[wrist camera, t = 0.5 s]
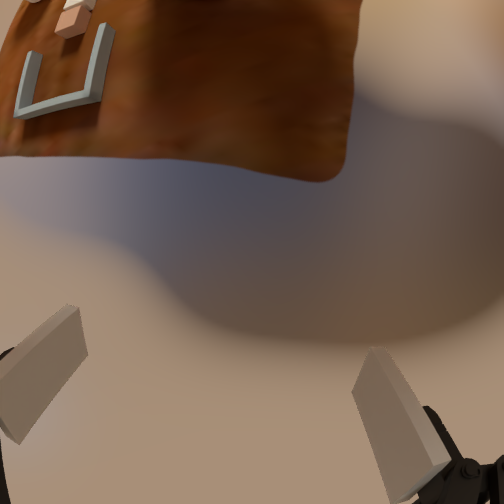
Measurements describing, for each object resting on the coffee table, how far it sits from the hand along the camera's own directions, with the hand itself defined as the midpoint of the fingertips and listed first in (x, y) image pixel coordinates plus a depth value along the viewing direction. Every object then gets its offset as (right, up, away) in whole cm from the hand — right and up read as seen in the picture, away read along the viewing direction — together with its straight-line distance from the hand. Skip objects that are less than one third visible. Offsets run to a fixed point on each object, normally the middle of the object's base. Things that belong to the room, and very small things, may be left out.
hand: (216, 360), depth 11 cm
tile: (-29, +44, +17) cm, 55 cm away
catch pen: (-29, +34, +20) cm, 49 cm away
